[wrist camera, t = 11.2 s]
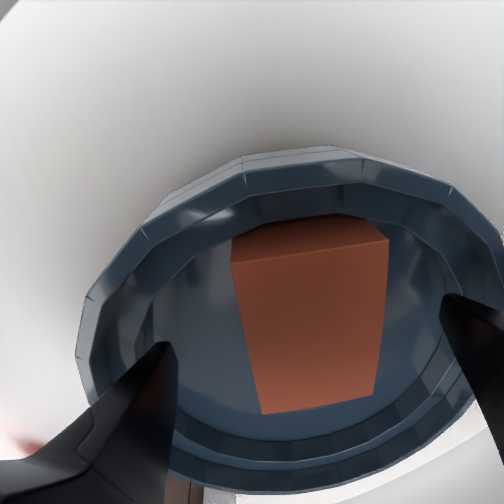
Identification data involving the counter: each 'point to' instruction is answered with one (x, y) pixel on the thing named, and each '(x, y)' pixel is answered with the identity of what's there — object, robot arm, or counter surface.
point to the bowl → (232, 334)
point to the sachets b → (311, 308)
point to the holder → (194, 493)
